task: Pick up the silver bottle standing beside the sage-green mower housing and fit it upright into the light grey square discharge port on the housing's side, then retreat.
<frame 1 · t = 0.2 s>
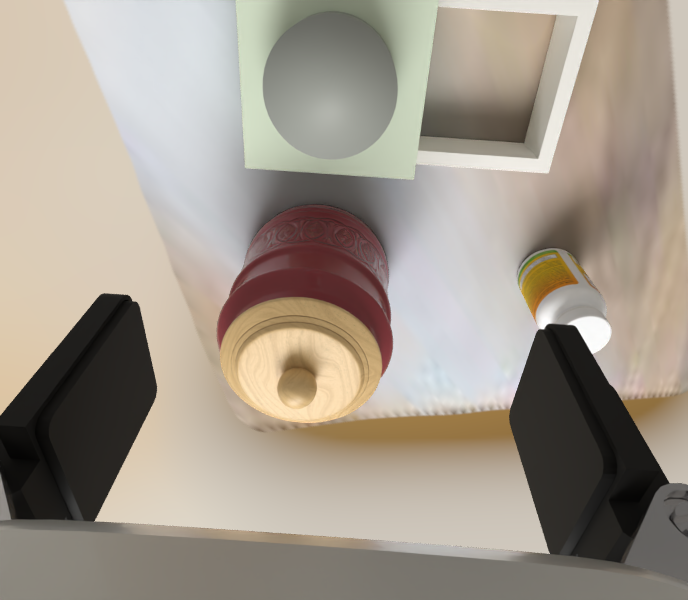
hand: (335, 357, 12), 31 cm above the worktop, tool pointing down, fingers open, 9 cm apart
canister: (318, 264, 46), on the worktop
supplement bottle: (545, 271, 46), on the worktop
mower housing: (338, 68, 37), on the worktop
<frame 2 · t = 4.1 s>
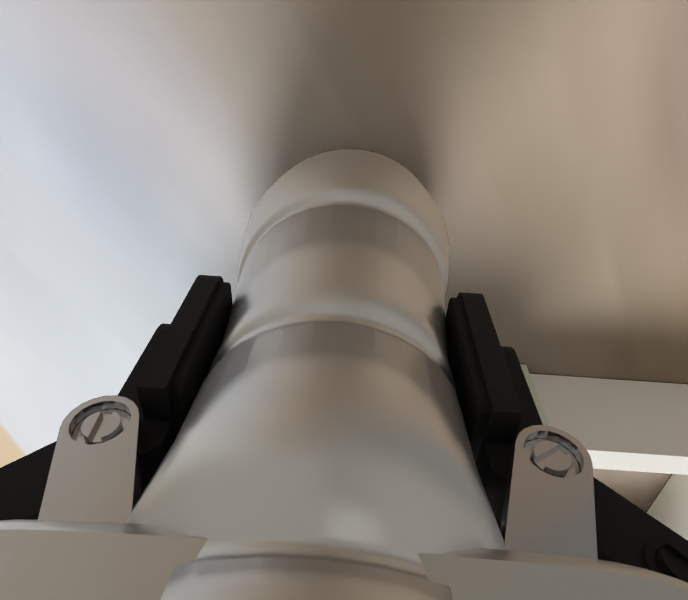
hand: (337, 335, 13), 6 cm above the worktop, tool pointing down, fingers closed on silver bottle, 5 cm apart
silver bottle: (347, 222, 18), on the worktop, touching gripper
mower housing: (374, 447, 25), on the worktop
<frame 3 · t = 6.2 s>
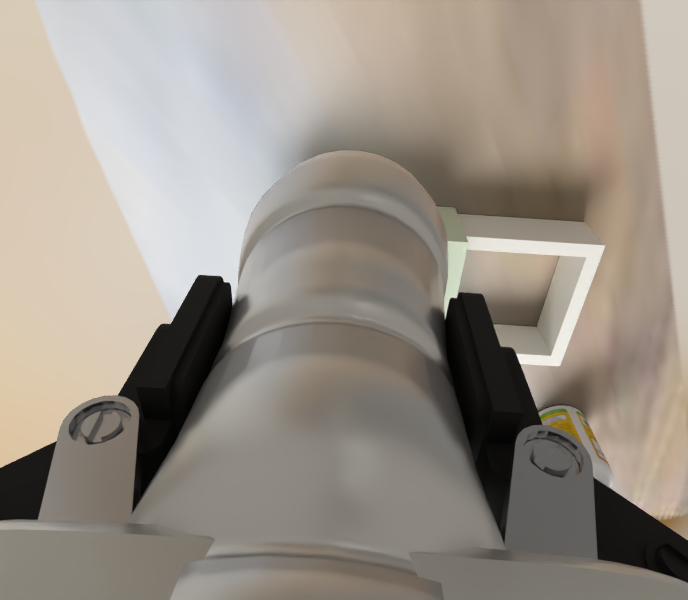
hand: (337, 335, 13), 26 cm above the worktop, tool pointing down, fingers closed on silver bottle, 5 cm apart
silver bottle: (347, 223, 18), point 19 cm above the worktop, touching gripper
supplement bottle: (555, 421, 50), on the worktop
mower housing: (369, 270, 41), on the worktop
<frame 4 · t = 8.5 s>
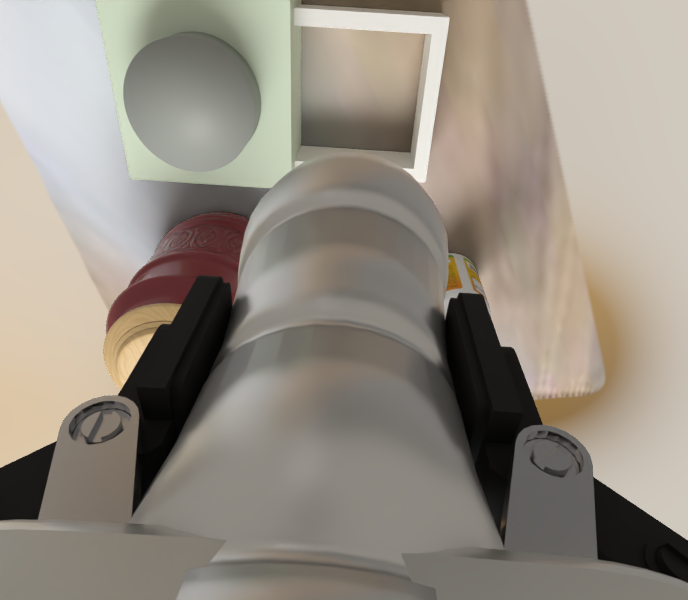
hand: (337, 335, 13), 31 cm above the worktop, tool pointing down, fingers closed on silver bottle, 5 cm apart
canister: (228, 269, 48), on the worktop
silver bottle: (347, 224, 18), point 24 cm above the worktop, touching gripper
supplement bottle: (447, 275, 47), on the worktop
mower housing: (223, 82, 38), on the worktop
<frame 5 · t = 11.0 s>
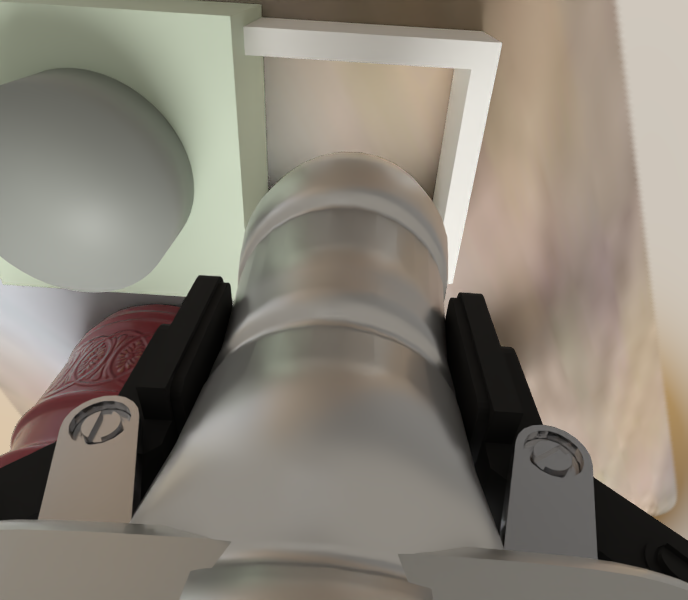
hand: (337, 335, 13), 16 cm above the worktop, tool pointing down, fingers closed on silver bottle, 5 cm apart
canister: (178, 372, 35), on the worktop
silver bottle: (347, 224, 18), point 9 cm above the worktop, touching gripper
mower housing: (150, 132, 26), on the worktop
when the fingers open (8 cm above the worktop, at t = 13.1 s): silver bottle moves 2 cm, resting on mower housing.
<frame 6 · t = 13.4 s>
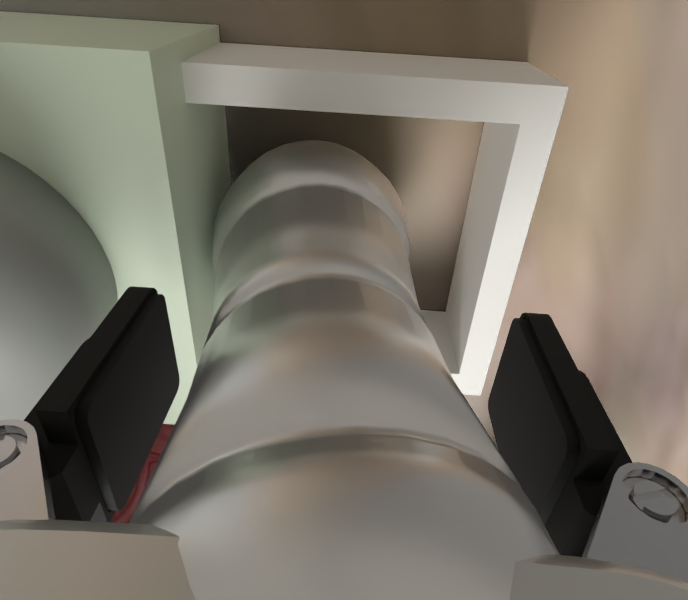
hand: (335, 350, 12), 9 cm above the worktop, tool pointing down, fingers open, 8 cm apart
canister: (136, 464, 29), on the worktop
silver bottle: (308, 212, 19), resting on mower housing
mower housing: (78, 191, 19), on the worktop
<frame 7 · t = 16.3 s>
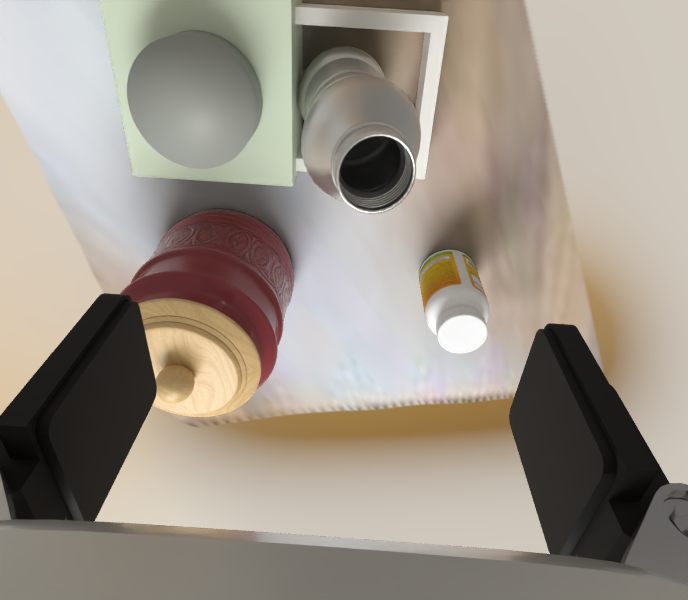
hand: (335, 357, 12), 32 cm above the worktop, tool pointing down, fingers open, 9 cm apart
canister: (230, 266, 48), on the worktop
silver bottle: (339, 90, 39), resting on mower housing
supplement bottle: (446, 271, 48), on the worktop
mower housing: (225, 80, 39), on the worktop
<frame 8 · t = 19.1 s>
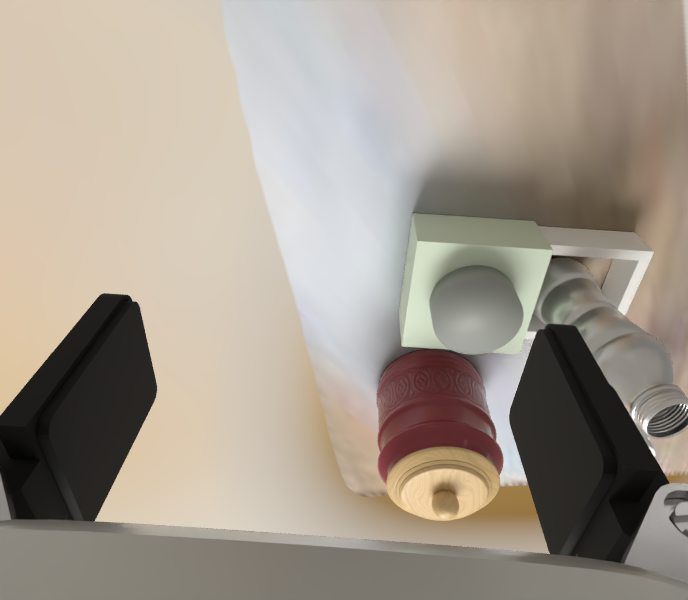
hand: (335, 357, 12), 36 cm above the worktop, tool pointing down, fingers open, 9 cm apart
canister: (428, 385, 62), on the worktop
silver bottle: (547, 277, 52), resting on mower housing
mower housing: (462, 269, 52), on the worktop
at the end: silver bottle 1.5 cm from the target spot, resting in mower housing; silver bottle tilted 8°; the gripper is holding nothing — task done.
